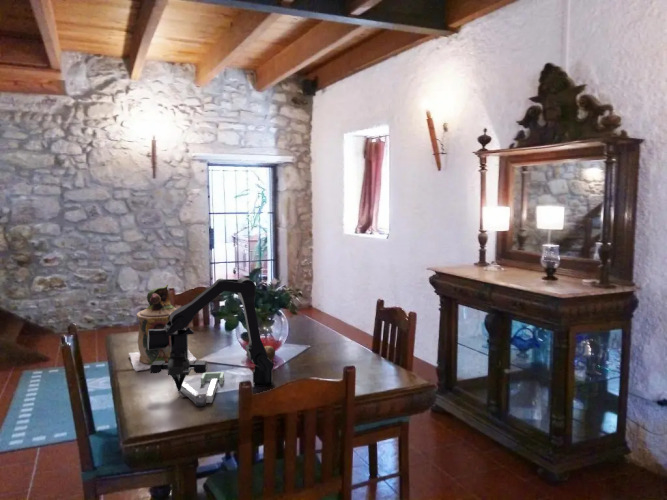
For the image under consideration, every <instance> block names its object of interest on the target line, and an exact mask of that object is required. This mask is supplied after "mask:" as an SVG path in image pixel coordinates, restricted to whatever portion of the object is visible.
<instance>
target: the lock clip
mask: <svg viewBox="0 0 667 500" xmlns="http://www.w3.org/2000/svg"><path fill="white" fill-rule="evenodd" d="M212 379H218V380H219V385H223V383H224V380H225V371H221V372H220V371H219V372H218V371H216V372H213V371H212V372H209V371H208V372H206V373H201V378H200V385H202V386H203V385H205V382H206V381H211V380H212Z"/></svg>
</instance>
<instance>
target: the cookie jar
mask: <svg viewBox="0 0 667 500" xmlns="http://www.w3.org/2000/svg"><path fill="white" fill-rule="evenodd" d="M168 287H169V284H168V283H167V284H166V285H165V286H161V287H157V288H153V289H151V290H150V291H149V292H148V293H147V296H146V300H147V303H148V307H147V308H145V309H143V310H140V311H138V312H137V313H136V318H137V320H138V323H139V325H138V330H137V331H138V335H137V346H138V351H136V352H135V351H134V352H128V356H129V358H130V362H131V365H132V368H133V370H134V371H135V372H139V371H146V370H150V366H151V364H152V363H153V362H154V361H165V364H168V363H169V359H170V352H171V336H169V345H167V347H166V348H165V349H153V350H148V341H147V337H148V330H149V329H164V327H165V325H166V324H167V323H168V321H169V320H170V315H171V313H172V312H173V311H175V310H176V309H178V308H176V307H175V306H174V305H172V303H171V301H170V299H171V298H170V297H171V295H170V293H169V291H170V290H169V289H168ZM184 329H185V328H184ZM188 359H189V362H190V364H195V362H196V361H198V360H197V358H196V356H195V355H193V353H191V351H190V350H189V349H188Z"/></svg>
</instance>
